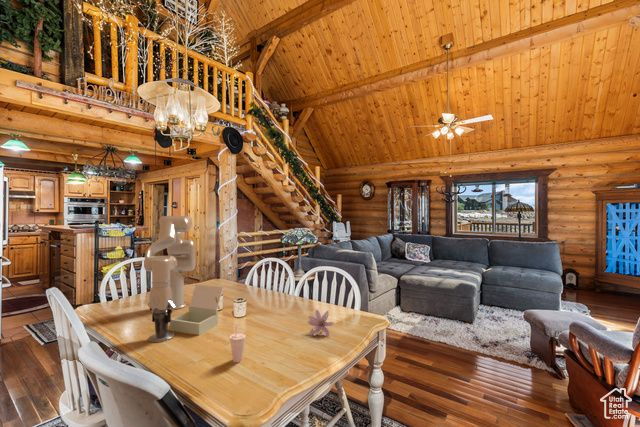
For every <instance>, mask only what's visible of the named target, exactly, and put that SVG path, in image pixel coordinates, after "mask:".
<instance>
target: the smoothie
mask: <svg viewBox="0 0 640 427" xmlns="http://www.w3.org/2000/svg"><path fill="white" fill-rule="evenodd" d="M246 336H247V335H246V334H245V333H241V332H239V333H238V325H237V324H235V333H233V334H231V335H229V342H230V348H231V355H232V361H233V363H241V362H242V361H243V359H244V350H245V343H246V342H245V341H246V339H247V338H246Z"/></svg>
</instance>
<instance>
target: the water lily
mask: <svg viewBox="0 0 640 427" xmlns="http://www.w3.org/2000/svg"><path fill="white" fill-rule="evenodd" d="M314 314H315V316H313V315H308V319H309V320H308V321H307V324H308V325H310V326H312V327H313V328H311V330H310V331H309V333H308V336H312V335H313V336H317V335H318V334H319V332H320V331H321V332H322V334H324V336H325V337H327V338H330V332H329V329H328V328H327V327H332V326H333V325H335V323H334V322H333V321H328V318H329V314H330V313H329V310H326V311H325V312H324V314H322V316H321V313H320V311H319V310H318V309H315V311H314Z"/></svg>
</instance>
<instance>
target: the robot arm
mask: <svg viewBox="0 0 640 427" xmlns="http://www.w3.org/2000/svg"><path fill="white" fill-rule="evenodd" d="M158 223H159V231H158V232H159V233H158V238H157V240H155V241H154V242H152V244H150V245H149V247H147V249H146V252H145V255H144V261H143V268H144V270H145V271H146V272H151V287H150V289H149V290H150V291H149V299H148V301H149V302H148V303H147V306H148V308H149V310H150V313H151V314H152V315H151V317H152V322H153V323H155V321H154V316H153V310H154V309H155V308H158V309H159V310H164V312H165V315H164V323H165V324H167V323H168V324H170V322H171V319H172V314H173V312H174V310H179V309H182V308H185V307H187V302H185V301H184V300H185V299H184V298H185V297H184V291H185V288H184V286H185V285H184V284H185V283H184V281H185V279H184V276H183V275H182V274H181V273H180V272H191V271H193V270H195V269H196V266H197V263H196V262H197V260H196V244H195V242H194V241H193V240H191V239H182V237H183V236H182V233H186V232H190V229H191V228H192V223H193V222H192V218H191V216H189V215H165V216H161V217H159V219H158ZM165 249H166V251H167V254H168V255H156V254H157V253H158V252H160V251H162V250H165ZM167 307H168V308H167ZM167 309H168V312H167Z"/></svg>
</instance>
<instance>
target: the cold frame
mask: <svg viewBox="0 0 640 427" xmlns="http://www.w3.org/2000/svg"><path fill="white" fill-rule="evenodd" d="M194 285H195V286H194V289H193V291H192V296H191V299H190V303H189V306H188V311H186V312H185V313H182V314H180V315H177V316H175V317H173V318H171V322H169V332H178V333H183V334H189V335H195V336H200V335H202V334H204V333H206V332H209V330H211V329H213V328H214V327H216V326H218V325H219V324H218V323H219V322H218V320H219V318H218V315H219V313H218V311H219V310H220V308H221V307H220V302H221V298H222V293H223V290H224V287H223V286H214V285H206V284H205V285H202V284H194Z"/></svg>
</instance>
